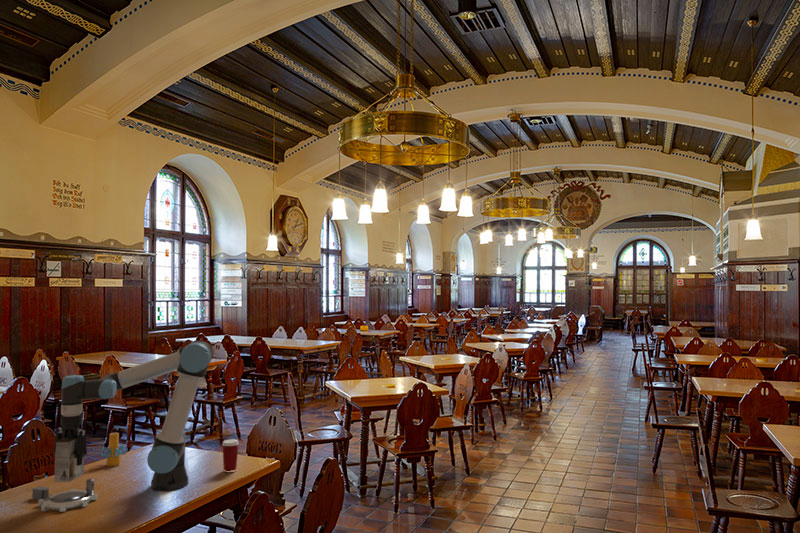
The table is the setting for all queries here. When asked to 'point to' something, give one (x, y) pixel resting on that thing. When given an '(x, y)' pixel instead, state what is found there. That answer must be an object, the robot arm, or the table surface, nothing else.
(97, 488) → the table surface
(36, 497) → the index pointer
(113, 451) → the yellow and blue toy
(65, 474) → the coffee box
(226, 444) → the paper cup
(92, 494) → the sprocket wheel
